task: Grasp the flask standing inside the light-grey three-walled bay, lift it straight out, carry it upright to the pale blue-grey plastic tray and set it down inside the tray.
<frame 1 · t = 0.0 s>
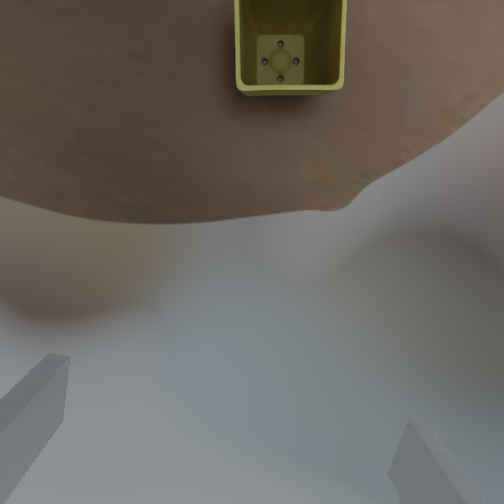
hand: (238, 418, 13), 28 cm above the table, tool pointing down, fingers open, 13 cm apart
flower pot: (278, 63, 36), on the table
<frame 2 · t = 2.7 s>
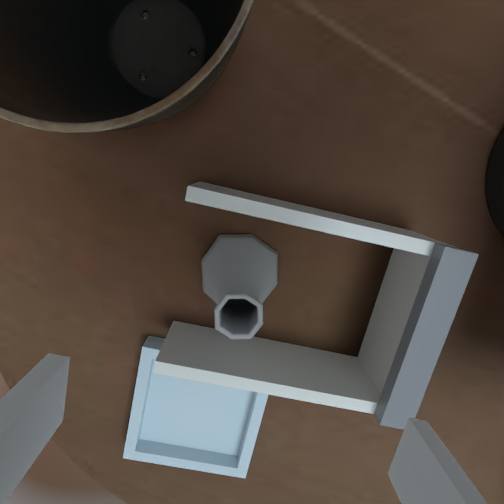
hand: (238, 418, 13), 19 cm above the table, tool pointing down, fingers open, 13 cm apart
tray: (199, 401, 35), on the table
plant pot: (159, 52, 27), on the table
bay: (282, 280, 32), on the table
flask: (240, 270, 32), on the table
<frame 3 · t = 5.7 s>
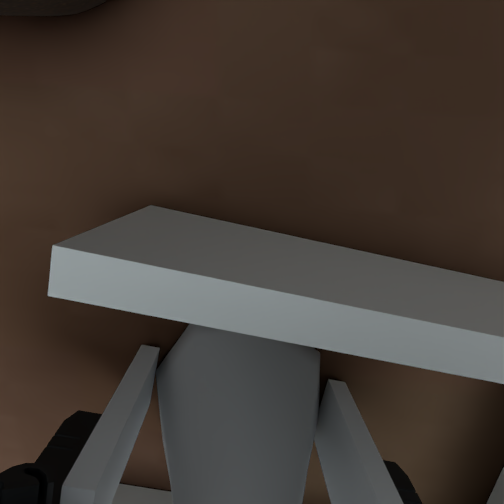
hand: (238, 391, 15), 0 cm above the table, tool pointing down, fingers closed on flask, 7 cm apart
bay: (329, 404, 15), on the table
flask: (239, 385, 15), on the table, touching gripper
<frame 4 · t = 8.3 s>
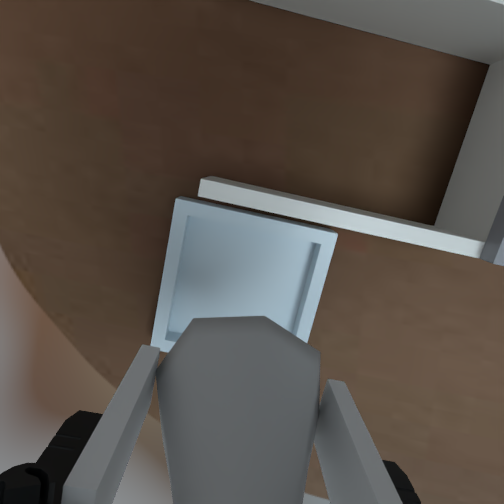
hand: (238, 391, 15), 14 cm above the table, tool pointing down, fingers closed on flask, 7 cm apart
tray: (240, 284, 28), on the table
bay: (347, 121, 26), on the table
flask: (239, 384, 15), point 14 cm above the table, touching gripper
when the fingers open (2 cm above the table, at t = 11.1 s): flask drops 1 cm, resting on tray.
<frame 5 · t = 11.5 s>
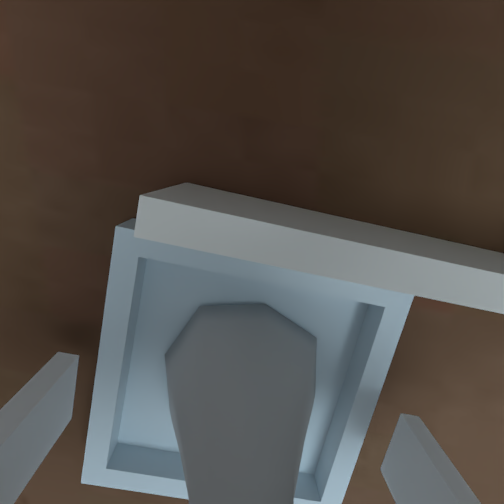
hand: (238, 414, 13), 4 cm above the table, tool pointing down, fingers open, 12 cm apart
tray: (239, 364, 17), on the table
bay: (431, 84, 14), on the table
flask: (241, 368, 17), resting on tray
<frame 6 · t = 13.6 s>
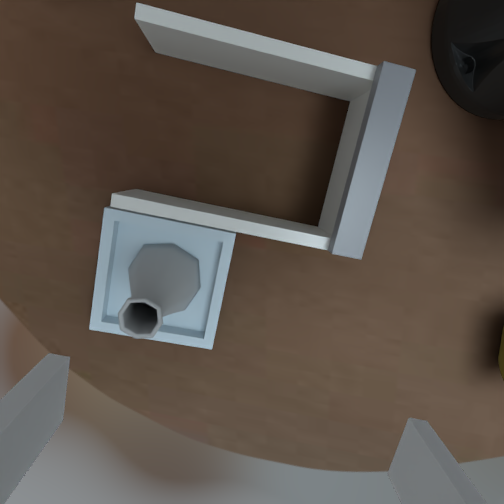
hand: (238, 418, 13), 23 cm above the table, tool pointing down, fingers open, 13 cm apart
tray: (165, 276, 35), on the table
bay: (242, 145, 33), on the table
flask: (165, 276, 35), resting on tray
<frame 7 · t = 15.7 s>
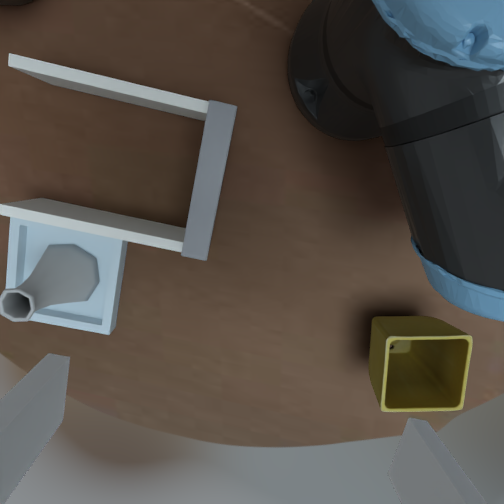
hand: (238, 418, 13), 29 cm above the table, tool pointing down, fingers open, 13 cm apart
tray: (71, 271, 41), on the table
flower pot: (389, 333, 45), on the table
bay: (130, 161, 39), on the table
flask: (70, 272, 41), resting on tray
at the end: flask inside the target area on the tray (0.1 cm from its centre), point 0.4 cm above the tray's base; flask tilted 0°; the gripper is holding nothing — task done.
